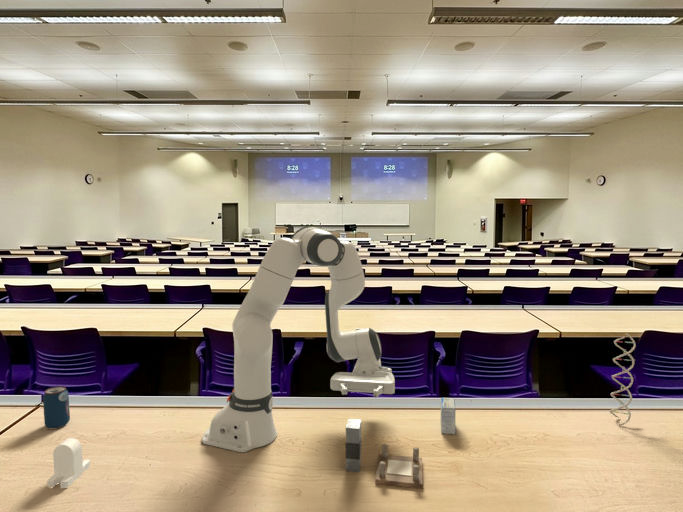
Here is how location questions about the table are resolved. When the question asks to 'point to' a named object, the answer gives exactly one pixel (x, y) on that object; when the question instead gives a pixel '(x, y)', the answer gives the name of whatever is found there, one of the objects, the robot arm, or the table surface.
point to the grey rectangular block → (353, 445)
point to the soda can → (56, 407)
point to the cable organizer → (67, 463)
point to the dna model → (624, 377)
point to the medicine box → (448, 415)
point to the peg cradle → (399, 469)
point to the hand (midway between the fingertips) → (359, 393)
